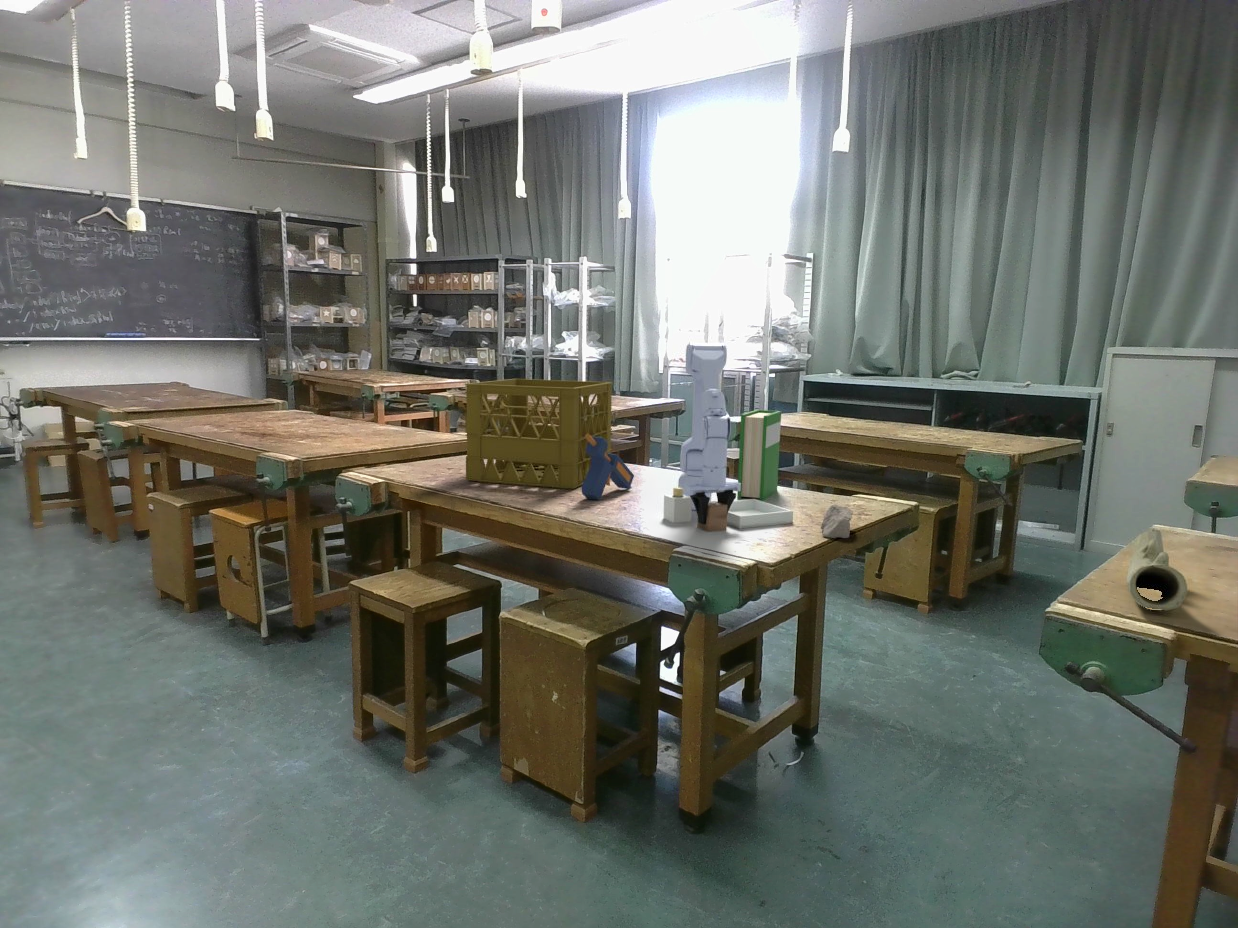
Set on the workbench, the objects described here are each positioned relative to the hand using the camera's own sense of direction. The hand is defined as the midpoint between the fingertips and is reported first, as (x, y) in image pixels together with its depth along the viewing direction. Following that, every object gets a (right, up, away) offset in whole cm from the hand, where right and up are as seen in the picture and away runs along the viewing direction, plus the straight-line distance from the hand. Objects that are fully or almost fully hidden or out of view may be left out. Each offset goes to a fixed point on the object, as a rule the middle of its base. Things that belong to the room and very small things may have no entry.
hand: (712, 522), depth 189 cm
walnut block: (0, -1, 0) cm, 1 cm away
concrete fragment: (+29, -3, -1) cm, 30 cm away
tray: (+10, 0, +11) cm, 15 cm away
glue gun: (-25, +5, +39) cm, 46 cm away
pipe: (+75, -10, -43) cm, 86 cm away
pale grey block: (-8, 0, +9) cm, 12 cm away
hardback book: (+18, +5, +43) cm, 47 cm away
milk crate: (-47, +10, +65) cm, 81 cm away
